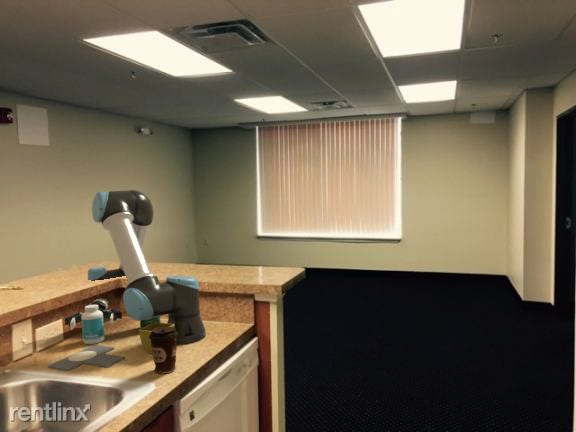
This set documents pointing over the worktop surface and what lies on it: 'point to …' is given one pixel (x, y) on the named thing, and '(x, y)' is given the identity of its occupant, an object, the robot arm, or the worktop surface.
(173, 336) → the coffee cup
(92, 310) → the pill bottle
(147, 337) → the flower pot
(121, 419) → the worktop surface
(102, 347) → the t mat
